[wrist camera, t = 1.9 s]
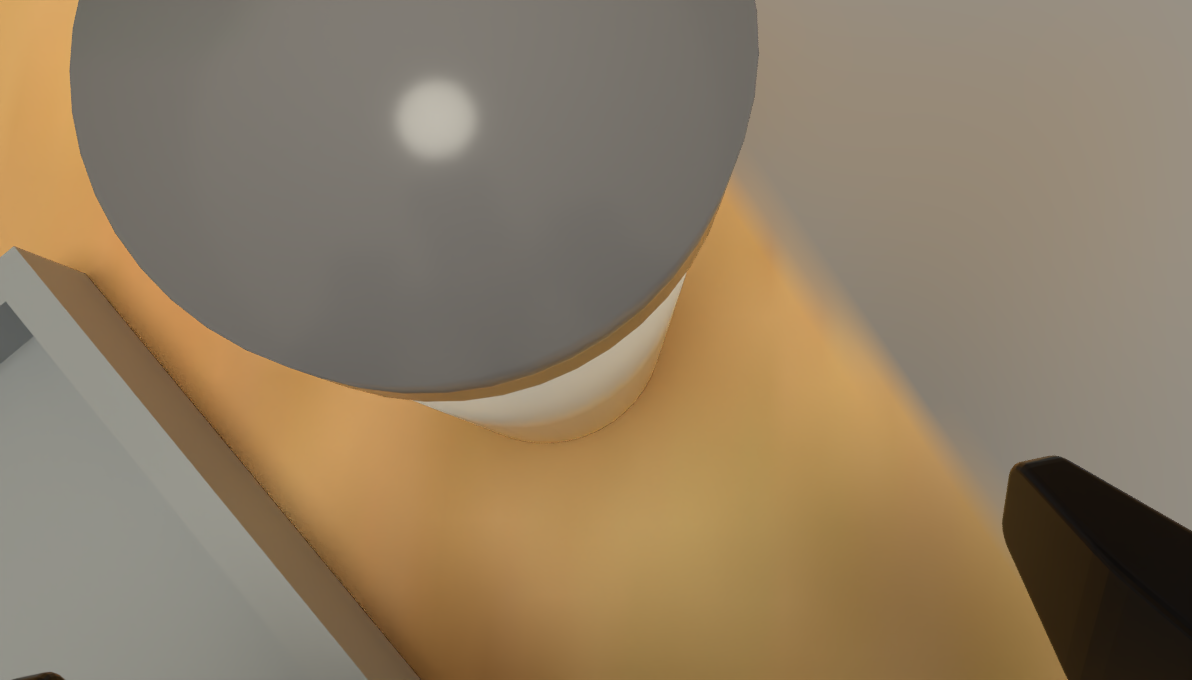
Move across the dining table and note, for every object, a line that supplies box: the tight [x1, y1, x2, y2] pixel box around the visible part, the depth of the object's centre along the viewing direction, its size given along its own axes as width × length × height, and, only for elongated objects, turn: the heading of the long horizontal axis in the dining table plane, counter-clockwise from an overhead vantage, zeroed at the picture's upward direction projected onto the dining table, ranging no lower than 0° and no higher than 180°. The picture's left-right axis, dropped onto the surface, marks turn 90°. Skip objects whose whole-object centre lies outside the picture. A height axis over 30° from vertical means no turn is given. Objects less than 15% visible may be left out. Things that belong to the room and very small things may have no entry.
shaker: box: [70, 0, 759, 443], centre depth 14 cm, size 5×5×14 cm
